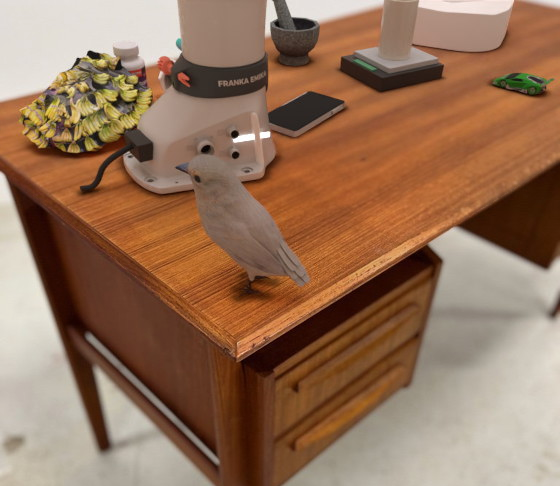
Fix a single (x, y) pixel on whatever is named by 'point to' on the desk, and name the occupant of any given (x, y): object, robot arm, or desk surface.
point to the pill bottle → (131, 59)
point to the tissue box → (462, 24)
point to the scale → (391, 68)
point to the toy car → (523, 82)
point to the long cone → (165, 79)
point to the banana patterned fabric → (86, 106)
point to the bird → (240, 223)
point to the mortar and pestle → (293, 35)
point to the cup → (397, 29)
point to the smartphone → (303, 113)
